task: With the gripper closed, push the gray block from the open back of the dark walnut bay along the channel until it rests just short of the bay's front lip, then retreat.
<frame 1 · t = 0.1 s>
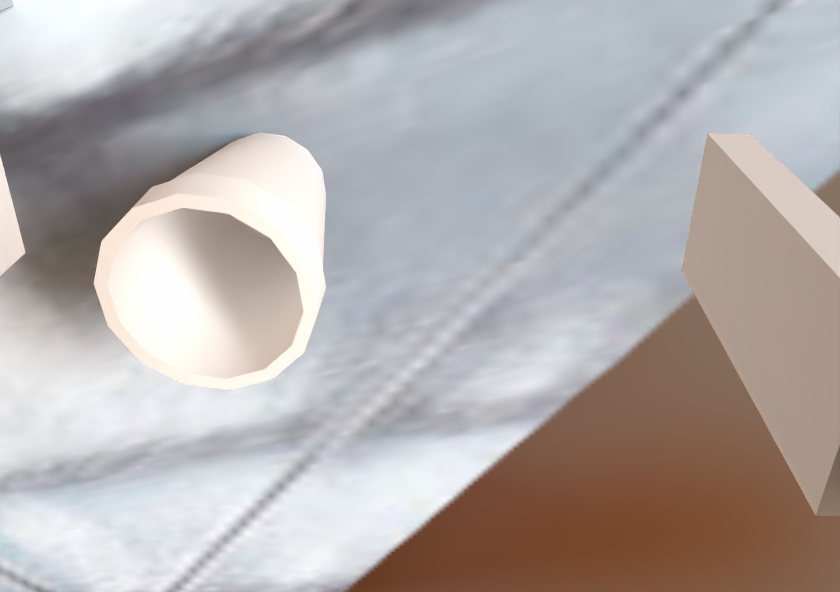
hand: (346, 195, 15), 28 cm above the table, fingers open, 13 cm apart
foam cup: (270, 185, 45), on the table
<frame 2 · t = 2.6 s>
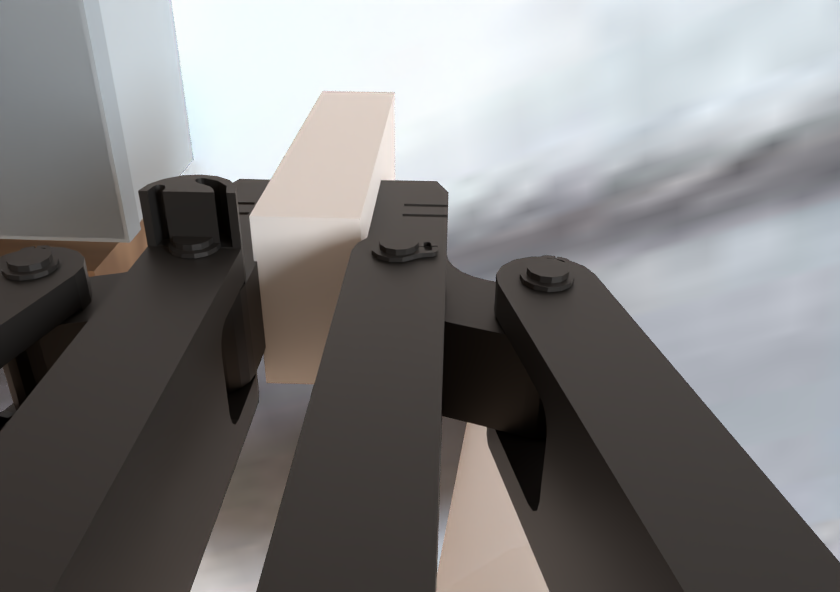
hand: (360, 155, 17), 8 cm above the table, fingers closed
gray block: (64, 45, 24), on the table
foam cup: (555, 404, 30), on the table
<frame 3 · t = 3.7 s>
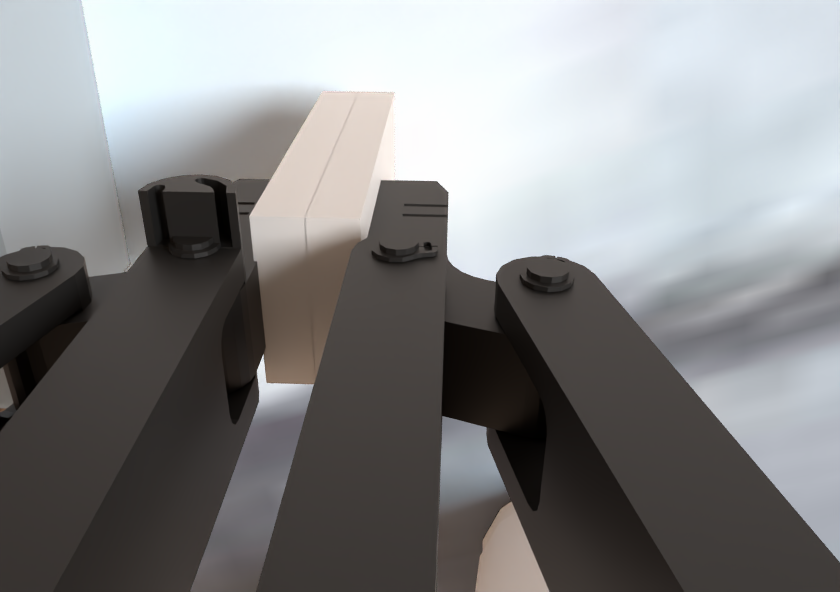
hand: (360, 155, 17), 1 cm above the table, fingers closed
foam cup: (584, 548, 24), on the table
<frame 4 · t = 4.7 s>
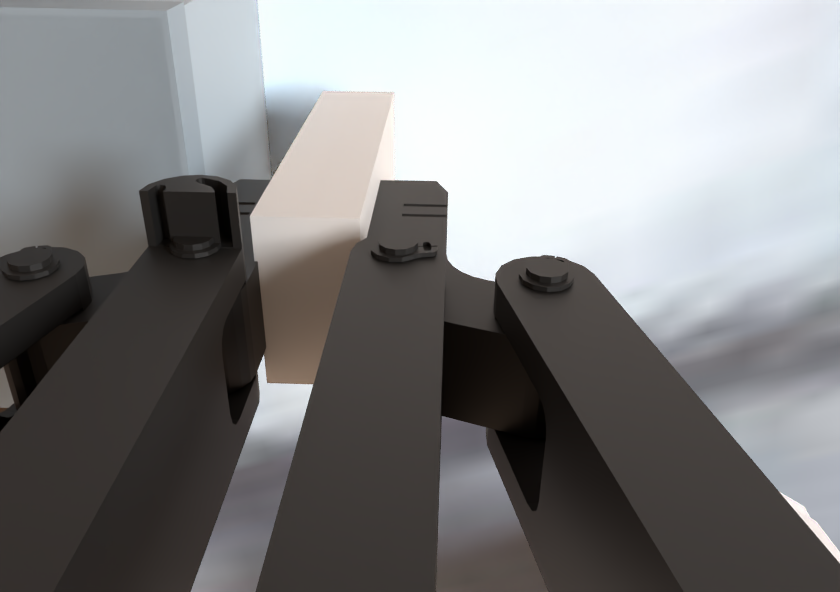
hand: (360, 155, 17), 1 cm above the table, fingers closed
gray block: (118, 126, 18), on the table, touching gripper
foam cup: (709, 553, 24), on the table
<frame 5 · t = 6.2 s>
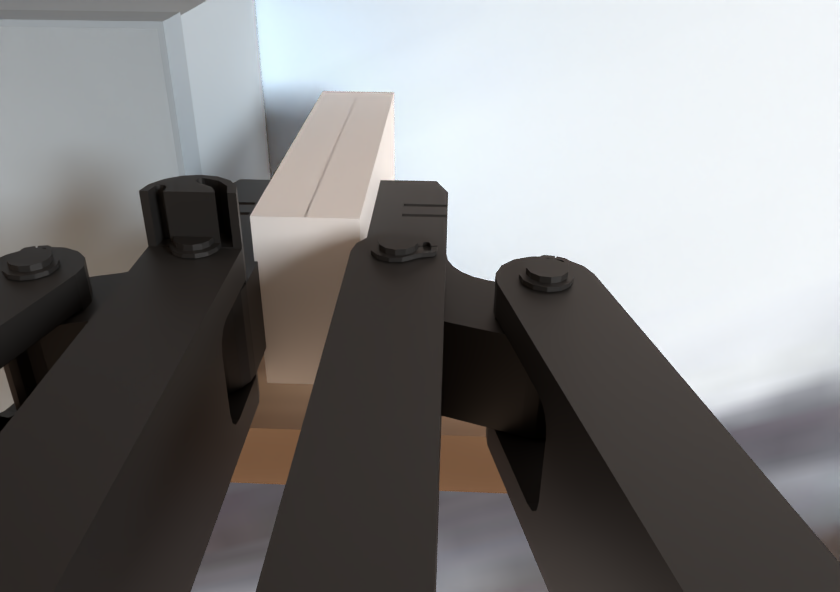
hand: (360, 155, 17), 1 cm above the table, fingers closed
gray block: (117, 134, 18), on the table, touching gripper
bay: (207, 126, 18), on the table
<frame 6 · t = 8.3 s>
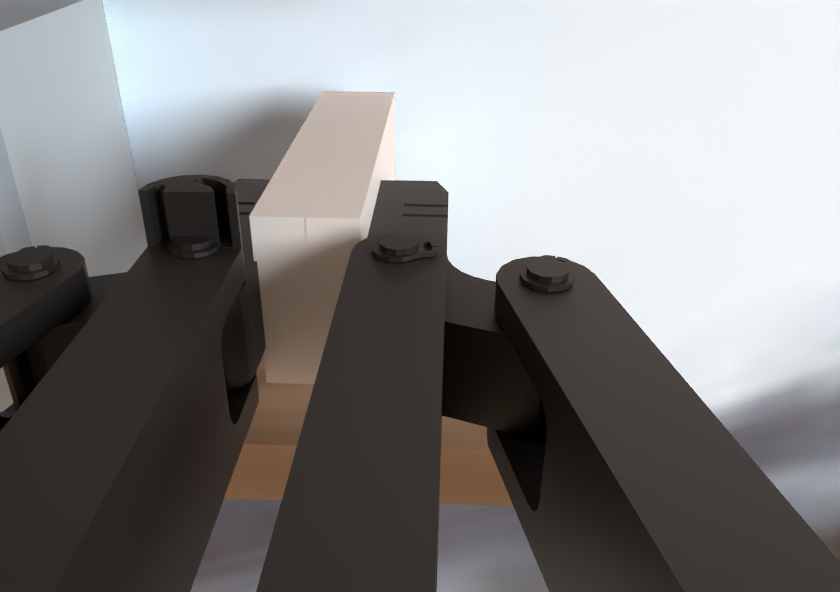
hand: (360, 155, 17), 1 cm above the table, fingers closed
bay: (170, 142, 18), on the table
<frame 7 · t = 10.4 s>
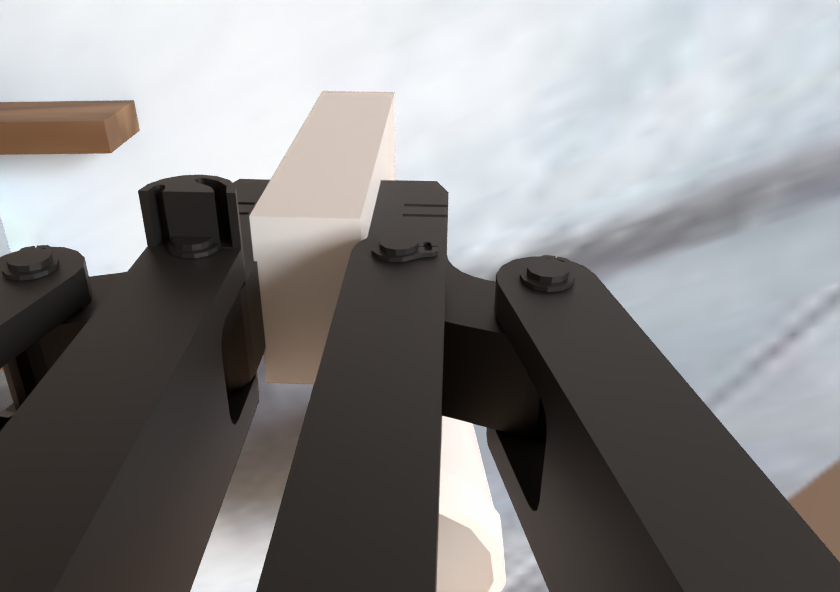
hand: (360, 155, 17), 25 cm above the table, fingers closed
foam cup: (419, 412, 50), on the table
bay: (19, 227, 45), on the table
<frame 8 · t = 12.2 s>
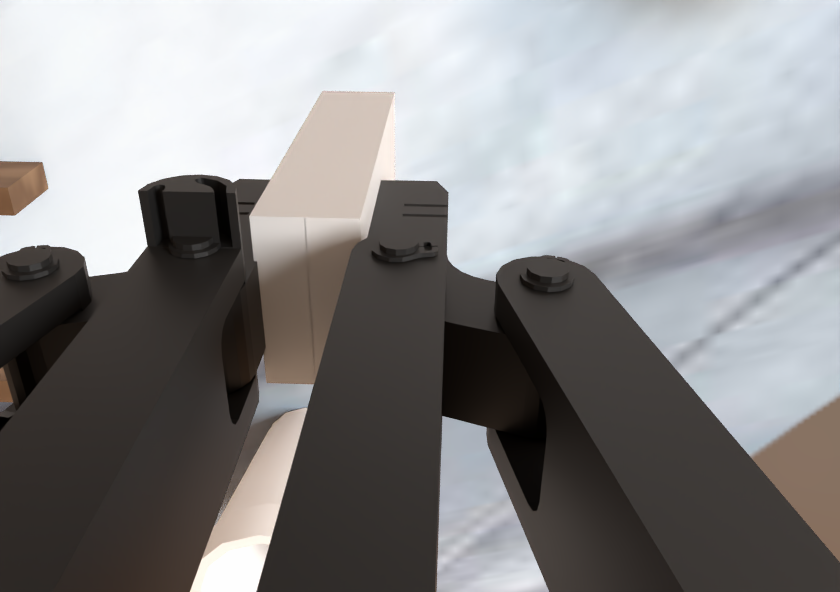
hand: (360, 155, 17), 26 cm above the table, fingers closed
foam cup: (313, 442, 55), on the table
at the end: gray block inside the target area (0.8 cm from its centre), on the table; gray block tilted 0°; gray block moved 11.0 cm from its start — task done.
